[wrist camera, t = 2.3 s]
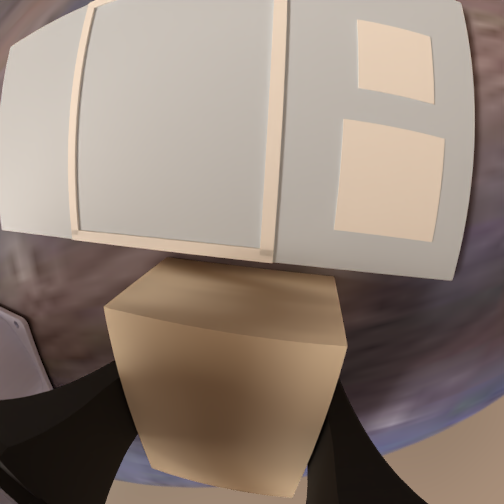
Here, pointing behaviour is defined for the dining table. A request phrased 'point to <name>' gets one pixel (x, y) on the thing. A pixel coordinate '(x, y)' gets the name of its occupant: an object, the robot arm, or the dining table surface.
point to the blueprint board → (246, 131)
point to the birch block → (228, 369)
